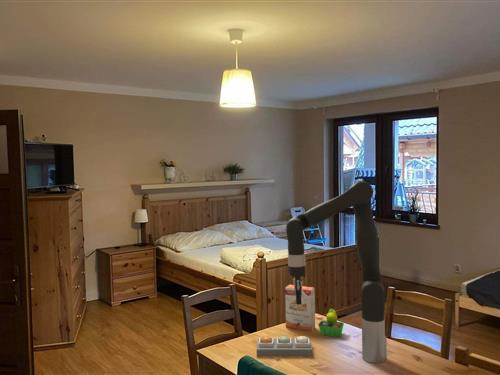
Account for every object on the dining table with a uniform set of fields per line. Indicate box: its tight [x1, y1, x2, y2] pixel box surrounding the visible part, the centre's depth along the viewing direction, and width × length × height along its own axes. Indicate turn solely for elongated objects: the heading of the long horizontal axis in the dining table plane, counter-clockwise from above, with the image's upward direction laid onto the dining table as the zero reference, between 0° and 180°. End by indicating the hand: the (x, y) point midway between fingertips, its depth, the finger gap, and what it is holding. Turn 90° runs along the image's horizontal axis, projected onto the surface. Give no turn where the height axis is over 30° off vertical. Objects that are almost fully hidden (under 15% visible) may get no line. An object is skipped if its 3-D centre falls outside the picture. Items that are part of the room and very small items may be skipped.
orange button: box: [260, 335, 272, 343], centre depth 197 cm, size 4×4×2 cm
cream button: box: [296, 335, 308, 343], centre depth 196 cm, size 4×4×2 cm
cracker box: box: [284, 284, 316, 332], centre depth 223 cm, size 14×6×21 cm, turn 62°
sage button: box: [278, 335, 290, 343], centre depth 197 cm, size 4×4×2 cm
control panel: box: [256, 337, 313, 357], centre depth 197 cm, size 24×12×4 cm, turn 87°
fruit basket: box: [318, 308, 345, 338], centre depth 215 cm, size 11×9×11 cm
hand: (298, 303), depth 191 cm, fingers closed
